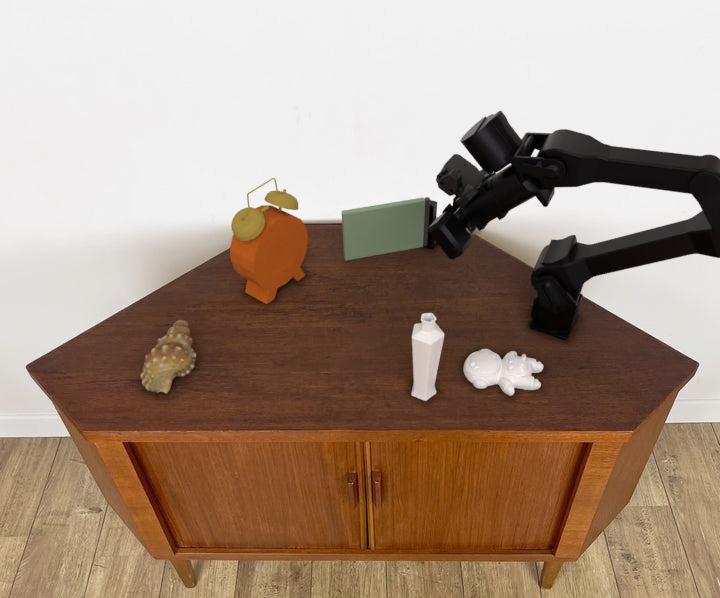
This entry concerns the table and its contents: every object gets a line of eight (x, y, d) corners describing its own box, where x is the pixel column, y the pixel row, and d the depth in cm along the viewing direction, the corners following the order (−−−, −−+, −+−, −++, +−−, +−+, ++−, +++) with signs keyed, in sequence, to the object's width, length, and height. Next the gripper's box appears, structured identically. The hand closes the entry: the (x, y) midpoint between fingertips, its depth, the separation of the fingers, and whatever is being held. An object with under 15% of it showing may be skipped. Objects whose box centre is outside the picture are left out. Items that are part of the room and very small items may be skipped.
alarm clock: (287, 258, 125) (275, 162, 110) (312, 271, 122) (302, 173, 108) (236, 295, 118) (216, 197, 103) (261, 309, 115) (243, 210, 101)
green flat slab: (422, 236, 127) (425, 190, 120) (428, 246, 125) (430, 199, 118) (341, 250, 124) (338, 204, 117) (345, 260, 122) (343, 214, 115)
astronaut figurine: (536, 403, 99) (539, 390, 97) (457, 384, 102) (459, 370, 100) (545, 363, 105) (549, 349, 102) (471, 346, 108) (472, 332, 105)
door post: (425, 237, 129) (427, 196, 122) (439, 241, 127) (442, 200, 121) (418, 245, 127) (420, 204, 120) (432, 249, 126) (435, 209, 119)
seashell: (149, 373, 109) (152, 314, 106) (199, 378, 110) (203, 320, 107) (134, 393, 101) (136, 330, 98) (189, 399, 101) (192, 336, 98)
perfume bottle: (437, 404, 99) (443, 331, 88) (407, 400, 100) (411, 327, 89) (440, 381, 102) (447, 308, 92) (412, 378, 103) (416, 305, 92)
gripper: (497, 120, 102) (429, 168, 114) (444, 177, 91) (375, 223, 103) (538, 178, 105) (467, 219, 117) (492, 240, 94) (419, 278, 106)
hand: (433, 232), depth 111 cm, fingers closed
